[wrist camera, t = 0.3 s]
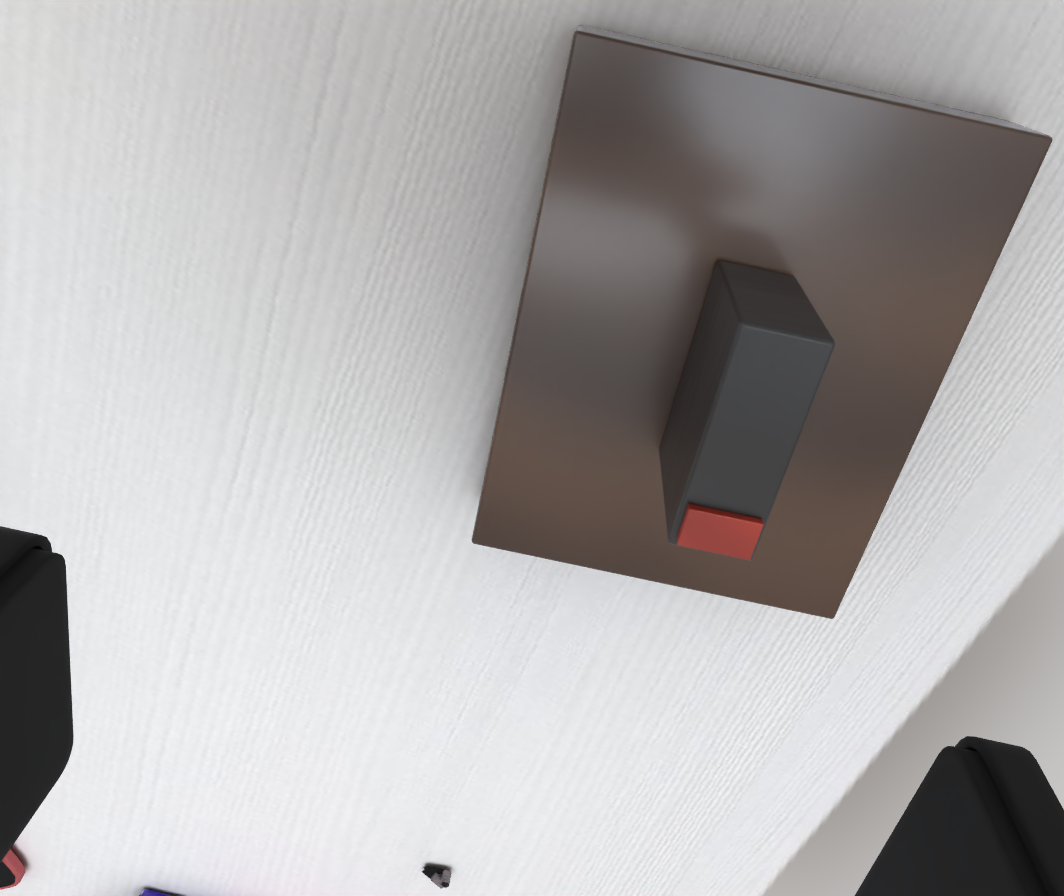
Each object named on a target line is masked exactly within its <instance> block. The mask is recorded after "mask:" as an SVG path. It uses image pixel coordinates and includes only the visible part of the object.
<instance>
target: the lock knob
mask: <svg viewBox="0 0 1064 896" xmlns="http://www.w3.org/2000/svg"><path fill="white" fill-rule="evenodd" d="M834 348H835V341H834V339H833V338H832V336H831V334H830V333H829V331H828V330H827V328H826V326H825V325H824V323H823V321H822V320H821V318H820V316H819V315H818V313H817V312H816V310H815V308H814V307H813V305H812V303H811V302H810V300H809V299H808V297H807V295H806V294H805V292H804V290H803V289H802V287H801V285H800V284H799V282H798V281H797V279H796V278H795V277H794V276H789V275H784V274H780V273H775V272H771V271H766V270H762V269H757V268H753V267H748V266H743V265H739V264H734V263H730V262H725V261H718V262H717V263H716V266H715V269H714V273H713V276H712V279H711V283H710V286H709V289H708V292H707V296H706V299H705V302H704V306H703V309H702V312H701V315H700V319H699V322H698V325H697V329H696V332H695V335H694V338H693V342H692V345H691V348H690V352H689V355H688V358H687V361H686V365H685V368H684V371H683V375H682V378H681V381H680V384H679V388H678V391H677V394H676V397H675V401H674V404H673V407H672V411H671V414H670V417H669V420H668V424H667V427H666V430H665V434H664V437H663V440H662V443H661V447H660V450H659V456H660V465H661V475H662V485H663V495H664V505H665V514H666V524H667V534H668V542H669V543H670V544H671V545H676V546H681V547H686V548H690V549H695V550H700V551H704V552H709V553H714V554H719V555H723V556H728V557H733V558H738V559H742V560H747V561H751V560H752V559H753V557H754V554H755V552H756V549H757V547H758V544H759V541H760V539H761V536H762V534H763V531H764V528H765V526H766V523H767V521H768V518H769V516H770V513H771V510H772V508H773V505H774V503H775V500H776V497H777V495H778V492H779V490H780V487H781V485H782V482H783V479H784V477H785V474H786V472H787V469H788V466H789V464H790V461H791V459H792V456H793V454H794V451H795V448H796V446H797V443H798V441H799V438H800V435H801V433H802V430H803V428H804V425H805V423H806V420H807V417H808V415H809V412H810V410H811V407H812V404H813V402H814V399H815V397H816V394H817V392H818V389H819V386H820V384H821V381H822V379H823V376H824V373H825V371H826V368H827V366H828V363H829V361H830V358H831V355H832V353H833V350H834Z"/></svg>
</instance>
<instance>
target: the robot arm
mask: <svg viewBox="0 0 1064 896" xmlns="http://www.w3.org/2000/svg"><path fill="white" fill-rule="evenodd" d="M72 746H73V719H72V696H71V674H70V652H69V629H68V607H67V585H66V565H65V560H64V558H63V556H62V555H60V554H58V553H53V552H52V548H51V543H50V542H49V540H48V539H47V537H44V536H42V535H38V534H33V533H29V532H24V531H20V530H15V529H10V528H6V527H1V526H0V863H1V861H2V860H3V859H4V857H5V856H6V854H7V853H8V851H9V850H10V848H11V847H12V845H13V844H14V843H15V841H16V840H17V838H18V837H19V835H20V834H21V832H22V831H23V830H24V828H25V827H26V825H27V824H28V822H29V821H30V819H31V818H32V816H33V815H34V814H35V812H36V811H37V809H38V808H39V806H40V805H41V803H42V802H43V801H44V799H45V798H46V796H47V795H48V793H49V792H50V790H51V789H52V787H53V786H54V785H55V783H56V782H57V780H58V779H59V777H60V776H61V774H62V772H63V771H64V769H65V767H66V764H67V762H68V760H69V757H70V754H71V750H72ZM855 896H1064V810H1063V808H1062V806H1061V804H1060V802H1059V801H1058V799H1057V797H1056V795H1055V793H1054V791H1053V789H1052V788H1051V786H1050V784H1049V783H1048V781H1047V779H1046V777H1045V775H1044V773H1043V771H1042V769H1041V768H1040V766H1039V764H1038V762H1037V760H1036V759H1035V758H1034V756H1033V755H1032V754H1031V753H1030V751H1028V750H1026V749H1025V748H1023V747H1020V746H1014V745H1010V744H1006V743H1001V742H996V741H992V740H987V739H983V738H978V737H970V736H967V737H965V738H963V739H961V740H960V741H959V742H958V744H957V745H956V746H955V747H953V746H947V747H945V748H944V749H943V750H942V751H941V752H940V753H939V755H938V756H937V758H936V760H935V761H934V763H933V765H932V767H931V768H930V770H929V772H928V773H927V775H926V776H925V778H924V780H923V782H922V783H921V785H920V787H919V788H918V790H917V792H916V794H915V795H914V797H913V798H912V800H911V802H910V803H909V805H908V807H907V809H906V810H905V812H904V814H903V815H902V817H901V819H900V820H899V822H898V824H897V825H896V827H895V829H894V831H893V832H892V834H891V836H890V837H889V839H888V841H887V842H886V844H885V846H884V847H883V849H882V851H881V853H880V854H879V856H878V858H877V859H876V861H875V863H874V864H873V866H872V868H871V869H870V871H869V873H868V874H867V876H866V878H865V879H864V881H863V883H862V884H861V886H860V888H859V890H858V891H857V893H856V895H855Z"/></svg>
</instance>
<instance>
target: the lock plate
mask: <svg viewBox="0 0 1064 896" xmlns="http://www.w3.org/2000/svg"><path fill="white" fill-rule="evenodd" d="M1051 142H1052V137H1050V136H1048V135H1046V134H1043V133H1040V132H1037V131H1035V130H1032V129H1029V128H1026V127H1024V126H1021V125H1018V124H1016V123H1013V122H1010V121H1006V120H1002V119H997V118H993V117H988V116H984V115H979V114H975V113H971V112H966V111H962V110H957V109H953V108H948V107H944V106H940V105H935V104H931V103H926V102H922V101H917V100H913V99H908V98H904V97H900V96H895V95H891V94H886V93H882V92H877V91H873V90H868V89H864V88H860V87H855V86H851V85H846V84H842V83H837V82H833V81H829V80H824V79H820V78H815V77H811V76H806V75H802V74H797V73H793V72H789V71H784V70H780V69H775V68H771V67H766V66H762V65H758V64H753V63H749V62H744V61H740V60H735V59H731V58H726V57H722V56H718V55H713V54H709V53H704V52H700V51H695V50H691V49H686V48H682V47H678V46H673V45H669V44H664V43H660V42H655V41H651V40H647V39H642V38H638V37H633V36H629V35H624V34H620V33H615V32H611V31H607V30H602V29H598V28H593V27H589V26H584V25H579V26H578V28H577V29H576V31H575V32H574V35H573V40H572V45H571V49H570V54H569V59H568V64H567V69H566V74H565V79H564V84H563V89H562V94H561V99H560V104H559V109H558V114H557V119H556V124H555V129H554V134H553V139H552V144H551V149H550V154H549V159H548V164H547V169H546V174H545V179H544V184H543V189H542V193H541V198H540V203H539V208H538V213H537V218H536V223H535V228H534V233H533V238H532V243H531V248H530V253H529V258H528V263H527V268H526V273H525V278H524V283H523V288H522V293H521V298H520V303H519V308H518V313H517V318H516V323H515V328H514V333H513V337H512V342H511V347H510V352H509V357H508V362H507V367H506V372H505V377H504V382H503V387H502V392H501V397H500V402H499V407H498V412H497V417H496V422H495V427H494V432H493V437H492V442H491V447H490V452H489V457H488V462H487V467H486V472H485V476H484V481H483V486H482V491H481V496H480V501H479V506H478V511H477V516H476V521H475V526H474V531H473V536H472V543H474V544H478V545H483V546H488V547H493V548H497V549H502V550H507V551H512V552H516V553H521V554H526V555H531V556H535V557H540V558H545V559H550V560H554V561H559V562H564V563H569V564H573V565H578V566H583V567H588V568H592V569H597V570H602V571H607V572H611V573H616V574H621V575H626V576H630V577H635V578H640V579H645V580H649V581H654V582H659V583H664V584H669V585H673V586H678V587H683V588H688V589H692V590H697V591H702V592H707V593H711V594H716V595H721V596H726V597H730V598H735V599H740V600H745V601H749V602H754V603H759V604H764V605H768V606H773V607H778V608H783V609H787V610H792V611H797V612H802V613H806V614H811V615H816V616H821V617H825V618H830V619H833V618H834V617H835V614H836V612H837V610H838V608H839V606H840V603H841V601H842V599H843V597H844V595H845V592H846V590H847V588H848V586H849V584H850V582H851V579H852V577H853V575H854V573H855V571H856V568H857V566H858V564H859V562H860V560H861V557H862V555H863V553H864V551H865V549H866V547H867V544H868V542H869V540H870V538H871V536H872V533H873V531H874V529H875V527H876V525H877V523H878V520H879V518H880V516H881V514H882V512H883V509H884V507H885V505H886V503H887V501H888V498H889V496H890V494H891V492H892V490H893V488H894V485H895V483H896V481H897V479H898V477H899V474H900V472H901V470H902V468H903V466H904V464H905V461H906V459H907V457H908V455H909V453H910V450H911V448H912V446H913V444H914V442H915V439H916V437H917V435H918V433H919V431H920V429H921V426H922V424H923V422H924V420H925V418H926V415H927V413H928V411H929V409H930V407H931V405H932V402H933V400H934V398H935V396H936V394H937V391H938V389H939V387H940V385H941V383H942V380H943V378H944V376H945V374H946V372H947V370H948V367H949V365H950V363H951V361H952V359H953V356H954V354H955V352H956V350H957V348H958V346H959V343H960V341H961V339H962V337H963V335H964V332H965V330H966V328H967V326H968V324H969V321H970V319H971V317H972V315H973V313H974V311H975V308H976V306H977V304H978V302H979V300H980V297H981V295H982V293H983V291H984V289H985V286H986V284H987V282H988V280H989V278H990V276H991V273H992V271H993V269H994V267H995V265H996V262H997V260H998V258H999V256H1000V254H1001V252H1002V249H1003V247H1004V245H1005V243H1006V241H1007V238H1008V236H1009V234H1010V232H1011V230H1012V227H1013V225H1014V223H1015V221H1016V219H1017V217H1018V214H1019V212H1020V210H1021V208H1022V206H1023V203H1024V201H1025V199H1026V197H1027V195H1028V193H1029V190H1030V188H1031V186H1032V184H1033V182H1034V179H1035V177H1036V175H1037V173H1038V171H1039V168H1040V166H1041V164H1042V162H1043V160H1044V158H1045V155H1046V153H1047V151H1048V149H1049V147H1050V144H1051ZM718 261H725V262H730V263H734V264H739V265H743V266H748V267H753V268H757V269H762V270H766V271H771V272H775V273H780V274H784V275H789V276H794V277H795V278H796V279H797V281H798V282H799V284H800V285H801V287H802V289H803V290H804V292H805V294H806V295H807V297H808V299H809V300H810V302H811V303H812V305H813V307H814V308H815V310H816V312H817V313H818V315H819V316H820V318H821V320H822V321H823V323H824V325H825V326H826V328H827V330H828V331H829V333H830V334H831V336H832V338H833V339H834V341H835V348H834V350H833V353H832V355H831V358H830V361H829V363H828V366H827V368H826V371H825V373H824V376H823V379H822V381H821V384H820V386H819V389H818V392H817V394H816V397H815V399H814V402H813V404H812V407H811V410H810V412H809V415H808V417H807V420H806V423H805V425H804V428H803V430H802V433H801V435H800V438H799V441H798V443H797V446H796V448H795V451H794V454H793V456H792V459H791V461H790V464H789V466H788V469H787V472H786V474H785V477H784V479H783V482H782V485H781V487H780V490H779V492H778V495H777V497H776V500H775V503H774V505H773V508H772V510H771V513H770V516H769V518H768V521H767V523H766V526H765V528H764V531H763V534H762V536H761V539H760V541H759V544H758V547H757V549H756V552H755V554H754V557H753V559H752V560H751V561H747V560H742V559H738V558H733V557H728V556H723V555H719V554H714V553H709V552H704V551H700V550H695V549H690V548H686V547H681V546H676V545H671V544H670V543H669V542H668V534H667V524H666V514H665V505H664V495H663V485H662V475H661V465H660V456H659V450H660V447H661V443H662V440H663V437H664V434H665V430H666V427H667V424H668V420H669V417H670V414H671V411H672V407H673V404H674V401H675V397H676V394H677V391H678V388H679V384H680V381H681V378H682V375H683V371H684V368H685V365H686V361H687V358H688V355H689V352H690V348H691V345H692V342H693V338H694V335H695V332H696V329H697V325H698V322H699V319H700V315H701V312H702V309H703V306H704V302H705V299H706V296H707V292H708V289H709V286H710V283H711V279H712V276H713V273H714V269H715V266H716V263H717V262H718Z"/></svg>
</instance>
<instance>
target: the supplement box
mask: <svg viewBox="0 0 1064 896" xmlns="http://www.w3.org/2000/svg"><path fill="white" fill-rule="evenodd" d="M139 896H171V895H167V894H163V893H160V892H156V891H152V890H148V889H143V890H142V891H141V893H140V895H139Z"/></svg>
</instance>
